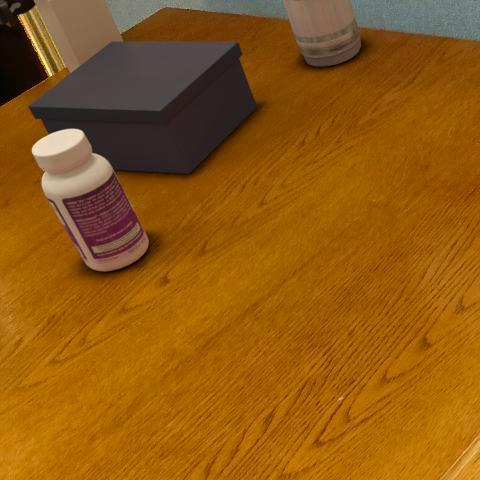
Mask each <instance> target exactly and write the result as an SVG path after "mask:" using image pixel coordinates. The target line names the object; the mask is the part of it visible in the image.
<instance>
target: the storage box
mask: <svg viewBox="0 0 480 480" xmlns="http://www.w3.org/2000/svg"><path fill="white" fill-rule="evenodd" d="M242 56H243V51H242V49H241V45H240V44H239V41H124V42H122V41H112V42H110V43H109V44H108V45H106V46H105V47H104V48H102V49H101V50H100V51H99V52H97V53H96V54H95V55H93V56H92V57H91V58H90V59H88V60H87V61H86V62H84V63H83V64H82V65H81V66H79V67H78V68H77V69H75V70H74V71H73V72H72V73H70V72H69V74H68V75H66V76H65V77H64V78H62V79H61V80H60V81H59V82H57V83H56V84H55V85H54V86H52V87H51V88H50V89H48V90H47V91H46V92H44V93H43V94H42V95H41V96H39V97H38V98H37V99H36V100H34V101H33V102H31V103H30V104H28V106H27V107H28V109H29V111H30V113H31V114H32V116H33V118H34V119H35V120H40V121H41V123H42V125H43V126H44V128H45V130H46V132H47V135H49V134H51V133H54V132H57V131H61V130H66V129H79V130H81V131H83V133H84V134H85V136H86V138H87V139H88V141H89V143H90V145H91V147H92V153H94V154H98V155H100V156H102V157H104V158H105V159H106V160H107V161H108V162H109V163H110V165H111V166H112V168H113V170H114V171H126V172H127V171H128V172H143V173H144V172H145V173H161V174H162V173H163V174H179V175H190V174H191V173H193V172H194V170H195V169H197V167H198V166H199V165H200V164H201V163H202V162H203V161H204V160H205V159H206V158H207V157H208V156H209V155H210V154H211V153H212V152H213V151H215V149H216V148H218V147H219V146H220V145H221V144H222V143H223V142H224V141H225V140H226V139H227V138H228V137H229V136H230V135H231V134H232V133H233V132H234V131H235V130H236V129H237V128H238V127H239V126H240V125H241V124H242V123H243V122H244V121H245V120H246V119H247V118H248V117H249V116H250V115H252V113H254V111H256V109H257V108H258V105H257V103H256V100H255V97H254V95H253V91H252V89H251V87H250V84H249V81H248V78H247V75H246V73H245V71H244V68H243V64H242V62H241V60H240V58H241V57H242Z"/></svg>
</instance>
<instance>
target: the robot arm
mask: <svg viewBox="0 0 480 480" xmlns="http://www.w3.org/2000/svg"><path fill="white" fill-rule="evenodd" d="M35 6H36V4H35V2H34V0H0V25H2V26H3V25H5V26H8V27H10V28H12V27H15V26H17V25H18V22H17V20H16V18H15V16H21V15H24V14H26V13H28V12H30V11H31V10H32V9H33V8H35Z"/></svg>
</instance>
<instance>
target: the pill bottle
mask: <svg viewBox="0 0 480 480" xmlns="http://www.w3.org/2000/svg"><path fill="white" fill-rule="evenodd" d="M31 154H32V155H33V157H34V159H35V161H36V163H37V165H38V167H39V168H40V169H41V170H42V171H43V172H44V173H43V175H42V177H41V188H42V191H43V193H44V195H45V197H46V199H47V201H48V202H49V204H50V205H51V207H52V209H53V211H54V212H55V214H56V216H57V218H58V219H59V221H60V223H61V225H62V226H63V228H64V230H65V232H66V234H67V235H68V237H69V239H70V240H71V242H72V243H73V245H74V247H75V248H76V250H77V252H78V253H79V255H80V257H81V258H82V260H83V262H84V263H85V265H86V266H87V267H88V268H90V269H92V270H94V271H98V272H111V271H116V270H120V269H123V268H125V267H127V266H130V265H132V264H133V263H134V262H136V261H138V260H140V258H142V257H143V256H144V254H145V253H146V252H147V250H148V248H149V244H150V241H149V238H148V236H147V233H146V231H145V229H144V227H143V225H142V222H141V221H140V219H139V217H138V215H137V213H136V211H135V209H134V207H133V205H132V203H131V201H130V199H129V197H128V195H127V193H126V191H125V190H124V188H123V185H122V183H121V182H120V180H119V178H118V176H117V174H116V172H115V170H113V168H112V166H111V165H110V163H109V162H108V161H107V160H106V159H105V158H104V157H102V156H100V155H98V154H94V153H92V147H91V145H90V143H89V141H88V139H87V138H86V136H85V134H84V133H83V131H81V130H79V129H66V130H61V131H57V132H54V133H51V134H47V135H46V136H43V137H42V138H40V139H39V140H37V141H36V142H35V143H34V144H33V146H32V147H31Z"/></svg>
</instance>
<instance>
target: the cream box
mask: <svg viewBox="0 0 480 480" xmlns="http://www.w3.org/2000/svg"><path fill="white" fill-rule="evenodd" d="M34 2H35V4H36V5H35V6H36V8H37V10H38V12H39V14H40V16H41V18H42V21H43V22H44V24H45V26H46V28H47V30H48V32H49V34H50V37H51V38H52V40H53V43H54V44H55V46H56V49H57V50H58V52H59V54H60V56H61V58H62V60H63V62H64V64H65V66H66V68H67V70H68V71H69V74H70V73H72V72H73V71H74V70H75V69H77V68H78V67H79V66H81V65H82V64H83V63H84V62H86V61H87V60H88V59H90V58H91V57H92V56H93V55H95V54H96V53H97V52H99V51H100V50H101V49H102V48H104V47H105V46H106V45H108V44H109V43H110V42H112V41H122V42H125V41H124V40H123V39H124V38H123V37H122V35H121V32H120V30H119V28H118V26H117V24H116V21H115V20H114V17H113V15H112V12H111V10H110V8H109V6H108V4H107V2H106V0H34Z"/></svg>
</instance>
